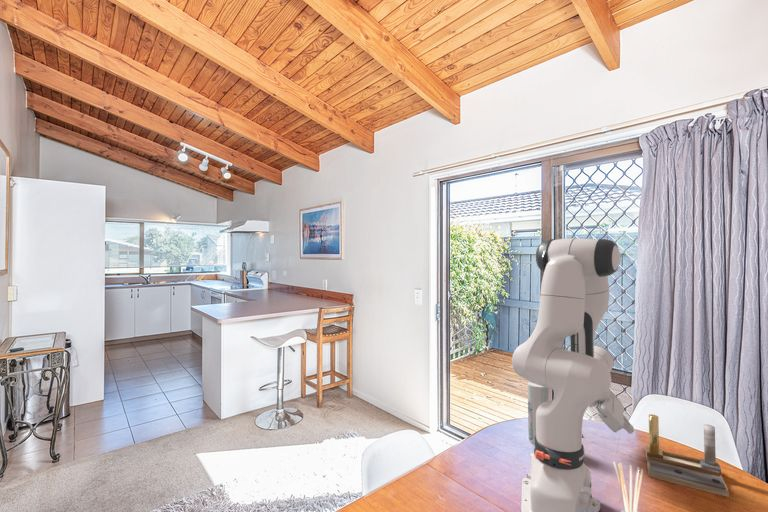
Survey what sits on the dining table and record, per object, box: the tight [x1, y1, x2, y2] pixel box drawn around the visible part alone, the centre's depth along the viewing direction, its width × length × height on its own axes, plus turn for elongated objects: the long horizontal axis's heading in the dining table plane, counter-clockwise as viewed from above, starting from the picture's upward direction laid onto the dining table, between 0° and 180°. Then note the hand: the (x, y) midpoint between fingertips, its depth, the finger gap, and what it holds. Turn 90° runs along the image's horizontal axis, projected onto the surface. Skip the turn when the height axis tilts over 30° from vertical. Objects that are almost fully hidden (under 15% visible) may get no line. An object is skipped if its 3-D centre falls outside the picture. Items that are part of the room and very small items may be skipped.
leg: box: [645, 414, 663, 458], centre depth 111 cm, size 4×4×12 cm
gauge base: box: [645, 424, 730, 498], centre depth 105 cm, size 14×17×14 cm
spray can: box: [527, 381, 549, 446], centre depth 124 cm, size 6×6×20 cm
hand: (632, 431), depth 115 cm, fingers closed
